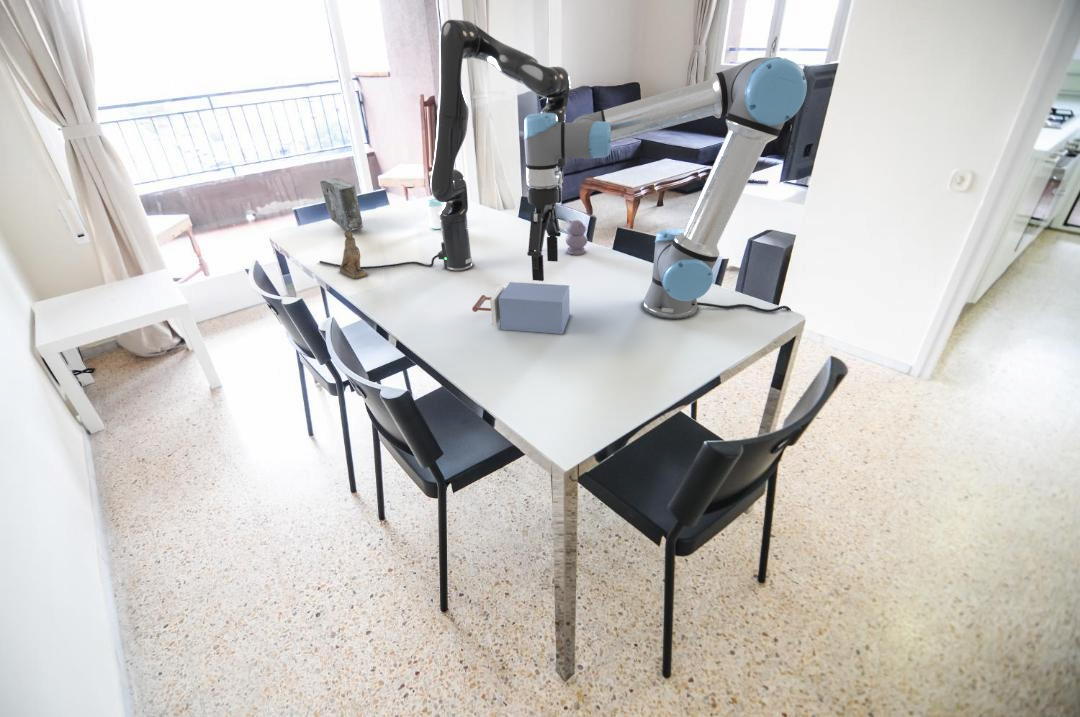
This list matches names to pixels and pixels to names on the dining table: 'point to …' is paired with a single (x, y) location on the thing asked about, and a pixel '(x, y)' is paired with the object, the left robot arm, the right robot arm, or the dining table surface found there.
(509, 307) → the cabinet
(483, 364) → the dining table surface
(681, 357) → the dining table surface
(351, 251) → the worn brown figurine
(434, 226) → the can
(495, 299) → the drawer
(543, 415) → the dining table surface
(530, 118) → the right robot arm
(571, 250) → the lavender rounded piece
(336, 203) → the concrete block
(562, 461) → the dining table surface
